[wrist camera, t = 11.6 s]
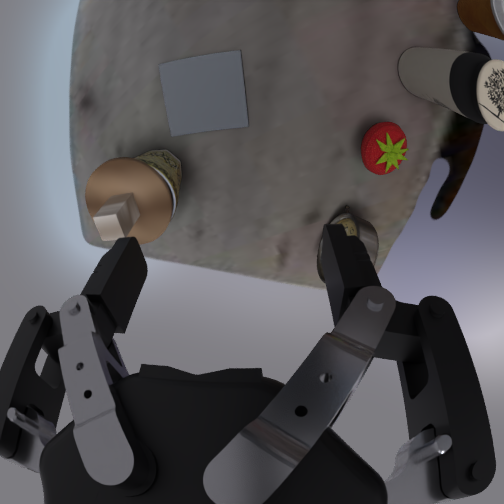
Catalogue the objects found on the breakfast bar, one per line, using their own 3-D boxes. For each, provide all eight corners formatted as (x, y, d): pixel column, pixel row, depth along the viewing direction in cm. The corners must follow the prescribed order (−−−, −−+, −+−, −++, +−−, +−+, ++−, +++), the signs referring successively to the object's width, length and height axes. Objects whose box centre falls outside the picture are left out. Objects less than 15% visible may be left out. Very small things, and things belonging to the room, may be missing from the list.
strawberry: (342, 150, 38) (363, 177, 30) (364, 106, 34) (392, 122, 26) (375, 165, 39) (401, 196, 31) (396, 124, 35) (429, 145, 27)
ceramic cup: (191, 136, 38) (171, 160, 30) (195, 197, 44) (180, 233, 36) (111, 142, 38) (78, 167, 30) (121, 198, 44) (95, 231, 36)
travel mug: (408, 37, 26) (491, 41, 12) (447, 66, 27) (532, 91, 13) (389, 79, 31) (466, 104, 17) (429, 106, 32) (508, 148, 18)
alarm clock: (342, 196, 43) (373, 263, 30) (368, 208, 44) (405, 276, 31) (310, 246, 49) (324, 321, 37) (336, 256, 51) (355, 328, 38)
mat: (159, 64, 31) (158, 64, 30) (240, 50, 30) (240, 50, 29) (172, 135, 38) (171, 136, 37) (248, 125, 37) (248, 126, 36)
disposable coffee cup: (445, 21, 23) (496, 22, 13) (452, -21, 17) (499, -28, 7) (486, 51, 24) (536, 63, 14) (493, 10, 18) (541, 15, 8)
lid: (77, 167, 30) (51, 189, 25) (160, 149, 29) (140, 169, 24) (106, 242, 37) (89, 270, 33) (182, 236, 36) (171, 267, 32)
